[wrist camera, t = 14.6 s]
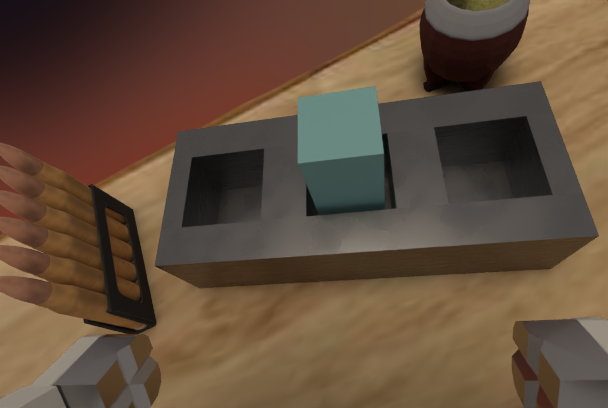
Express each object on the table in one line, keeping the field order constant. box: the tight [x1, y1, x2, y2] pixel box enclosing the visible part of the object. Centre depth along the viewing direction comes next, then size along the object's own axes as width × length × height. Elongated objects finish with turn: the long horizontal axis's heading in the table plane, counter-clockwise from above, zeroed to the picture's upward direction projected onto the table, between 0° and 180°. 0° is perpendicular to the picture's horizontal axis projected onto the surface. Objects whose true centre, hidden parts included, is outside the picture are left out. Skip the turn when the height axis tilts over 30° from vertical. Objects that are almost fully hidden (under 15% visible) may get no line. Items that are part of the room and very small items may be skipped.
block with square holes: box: [155, 81, 599, 288], centre depth 25 cm, size 24×10×6 cm, turn 91°
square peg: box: [298, 86, 385, 215], centre depth 22 cm, size 4×4×10 cm
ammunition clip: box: [0, 143, 156, 334], centre depth 24 cm, size 11×2×12 cm, turn 24°
